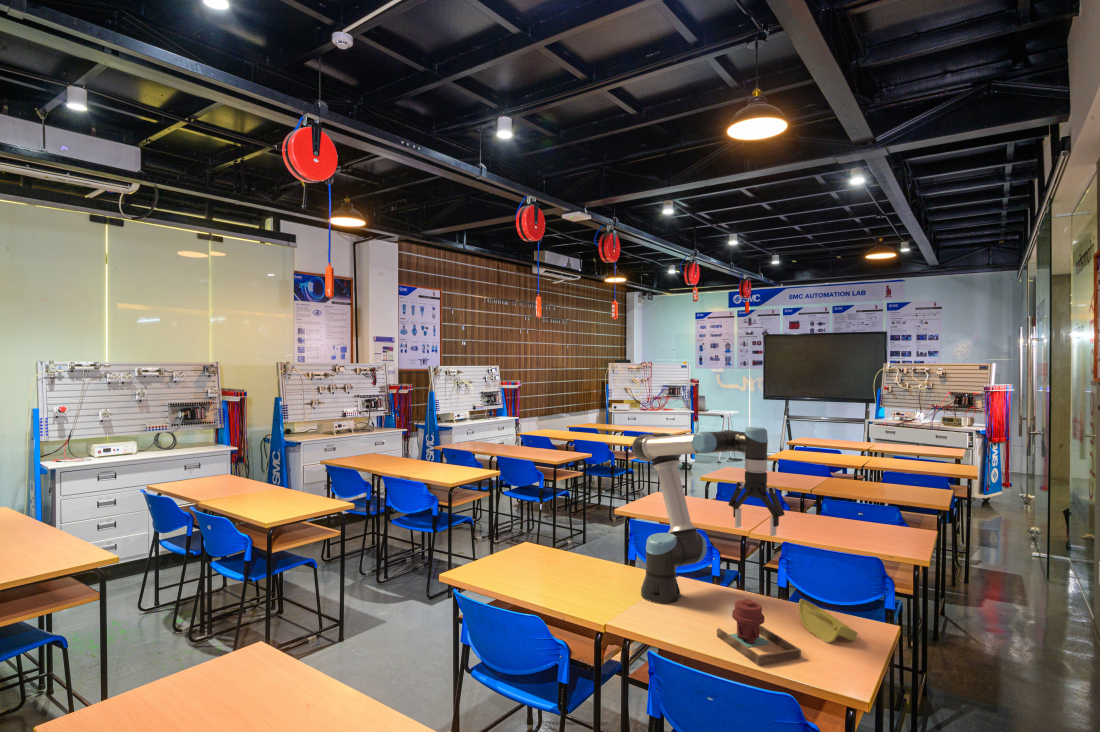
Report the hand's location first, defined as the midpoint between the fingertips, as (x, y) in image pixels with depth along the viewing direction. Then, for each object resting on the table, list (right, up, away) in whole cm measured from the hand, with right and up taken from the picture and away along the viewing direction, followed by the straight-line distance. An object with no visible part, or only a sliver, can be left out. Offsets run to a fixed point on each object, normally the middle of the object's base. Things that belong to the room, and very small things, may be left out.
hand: (755, 531), depth 197 cm
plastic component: (+21, -32, -7) cm, 40 cm away
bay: (-7, -31, -20) cm, 37 cm away
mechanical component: (-8, -31, -15) cm, 36 cm away
